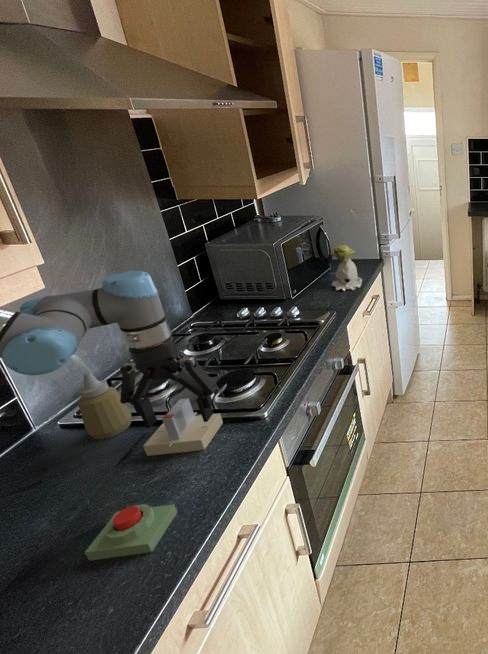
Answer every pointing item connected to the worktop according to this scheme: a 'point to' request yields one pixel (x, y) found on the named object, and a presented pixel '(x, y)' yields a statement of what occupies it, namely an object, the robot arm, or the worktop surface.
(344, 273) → the white green figurine
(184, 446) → the switch base
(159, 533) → the button box
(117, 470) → the worktop surface
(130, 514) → the button
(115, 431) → the squeeze bottle
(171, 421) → the grey rectangular block
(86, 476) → the worktop surface
